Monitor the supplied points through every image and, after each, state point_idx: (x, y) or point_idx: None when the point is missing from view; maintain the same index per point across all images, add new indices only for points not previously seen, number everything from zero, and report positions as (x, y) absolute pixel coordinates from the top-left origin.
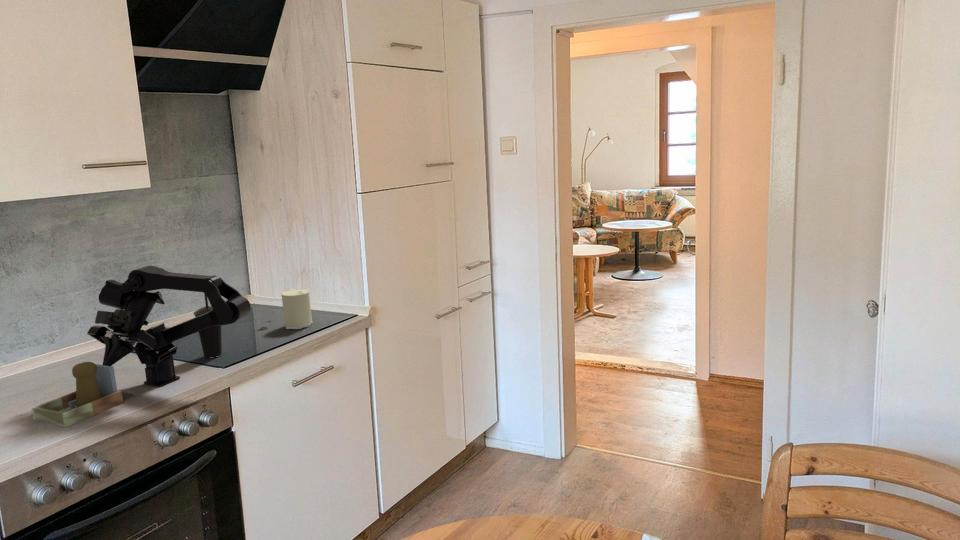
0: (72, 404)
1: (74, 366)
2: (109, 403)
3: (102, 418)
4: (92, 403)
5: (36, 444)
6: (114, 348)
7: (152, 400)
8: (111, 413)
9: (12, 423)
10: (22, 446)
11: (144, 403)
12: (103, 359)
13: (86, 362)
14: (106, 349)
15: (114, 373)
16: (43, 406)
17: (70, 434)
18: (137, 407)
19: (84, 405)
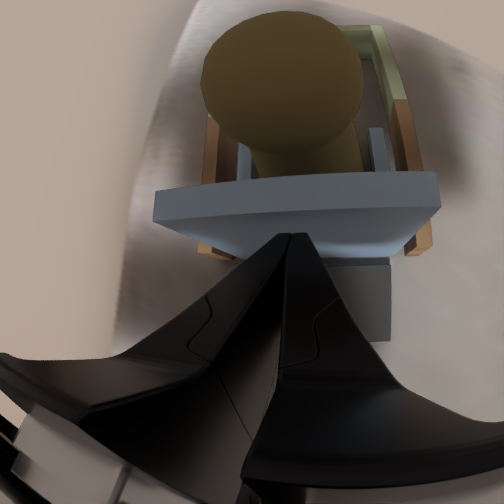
0: (369, 140)
1: (299, 12)
2: None
3: (179, 142)
4: (208, 121)
5: (213, 17)
6: (160, 338)
7: (140, 314)
8: (182, 177)
9: (409, 32)
10: (233, 3)
11: (144, 283)
12: (320, 258)
13: (266, 58)
14: (330, 333)
15: (178, 231)
16: (377, 49)
17: (181, 62)
18: (141, 247)
19: None
